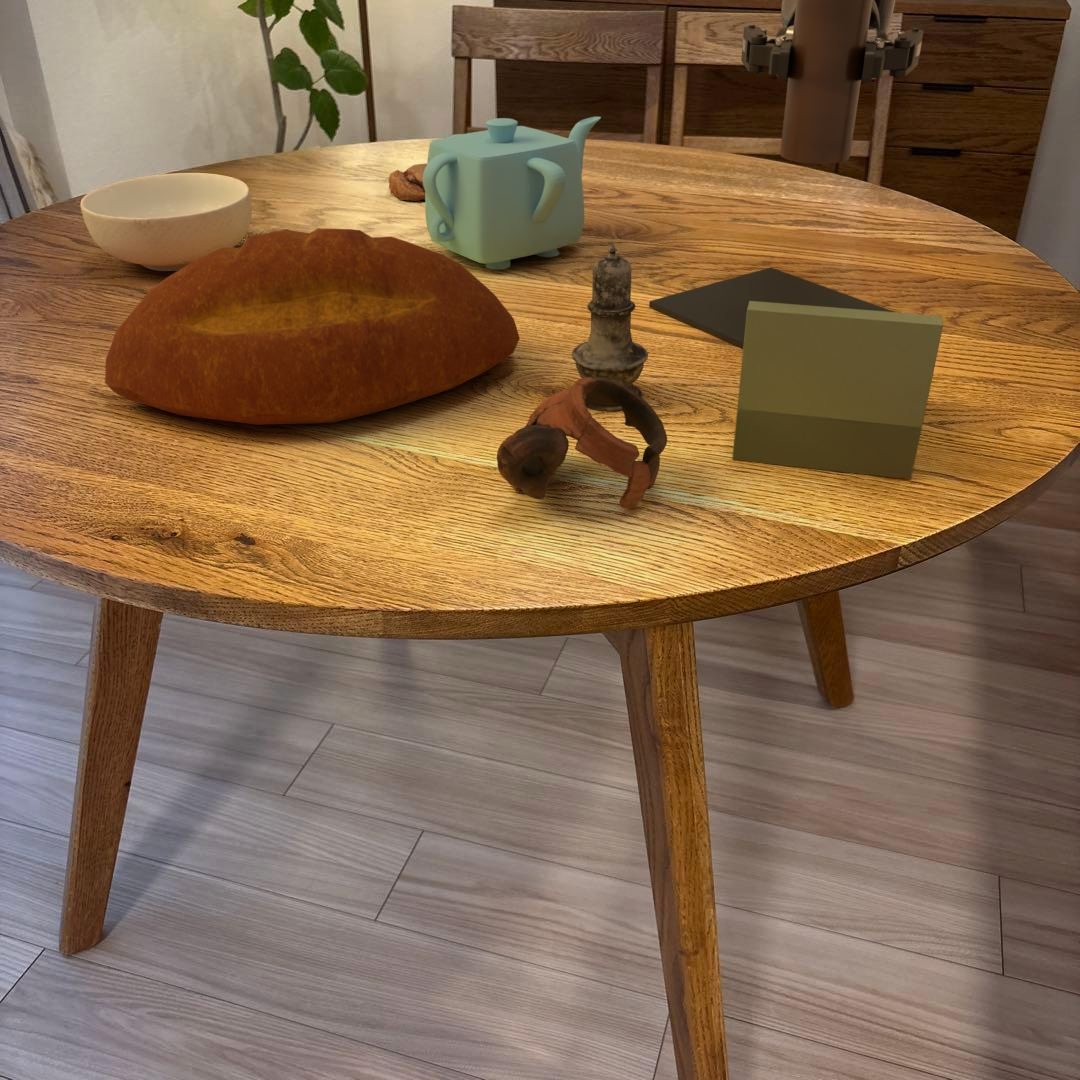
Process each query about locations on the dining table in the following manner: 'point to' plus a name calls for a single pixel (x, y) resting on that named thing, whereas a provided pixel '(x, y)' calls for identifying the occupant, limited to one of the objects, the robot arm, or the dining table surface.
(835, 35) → the pepper mill
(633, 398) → the brown leather headphones
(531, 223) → the teapot
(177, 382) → the bread
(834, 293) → the slate mat
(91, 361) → the dining table surface
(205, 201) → the cereal bowl
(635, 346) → the salt shaker
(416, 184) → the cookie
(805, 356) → the olive piece
